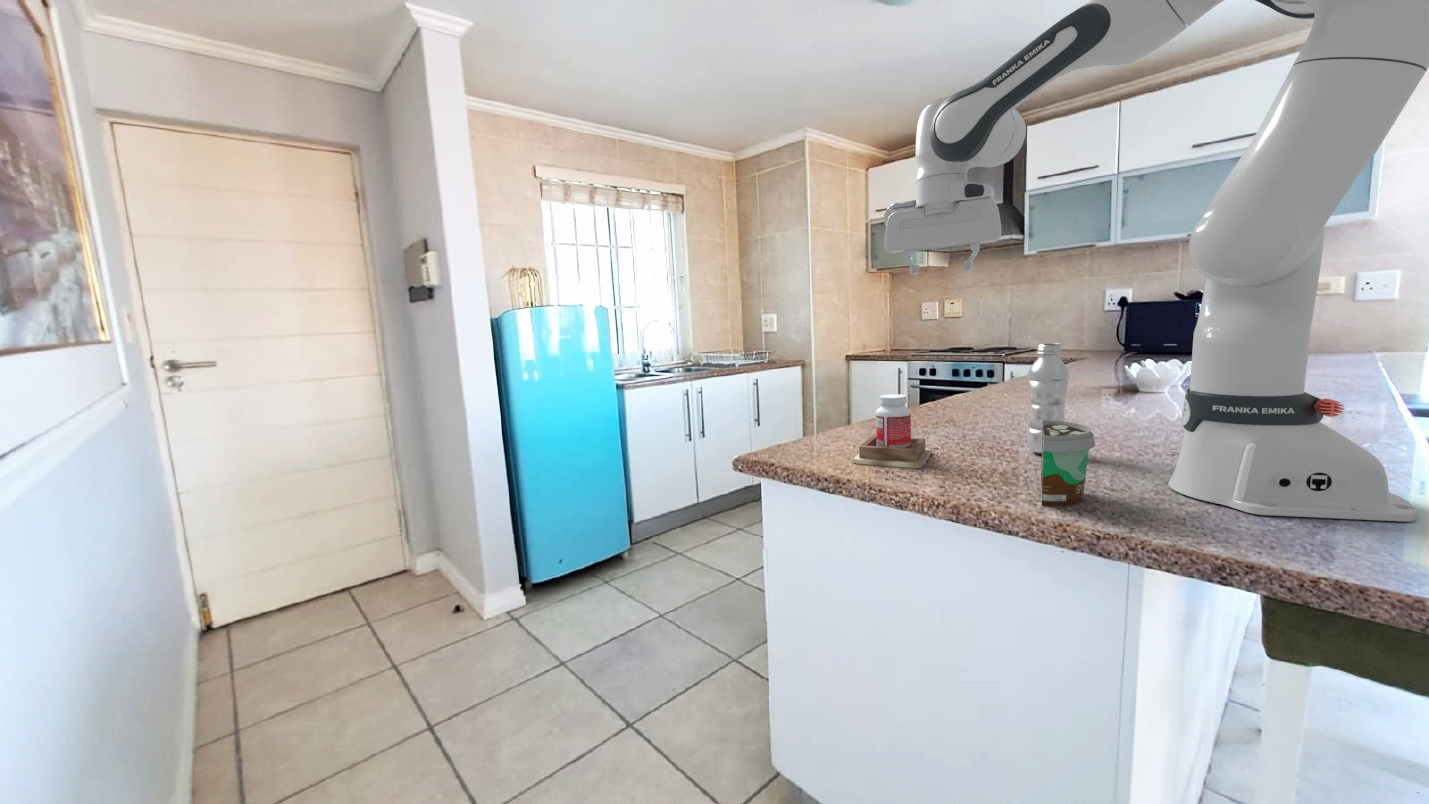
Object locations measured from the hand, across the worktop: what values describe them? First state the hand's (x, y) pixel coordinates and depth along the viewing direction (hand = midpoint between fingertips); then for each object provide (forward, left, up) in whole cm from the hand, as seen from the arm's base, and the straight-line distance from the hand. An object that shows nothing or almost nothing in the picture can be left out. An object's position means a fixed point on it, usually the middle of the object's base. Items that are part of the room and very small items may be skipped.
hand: (940, 272), depth 104 cm
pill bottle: (+7, +10, -34) cm, 36 cm away
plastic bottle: (-18, -1, -34) cm, 39 cm away
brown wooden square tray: (+7, +10, -34) cm, 36 cm away
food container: (-20, +25, -34) cm, 47 cm away
